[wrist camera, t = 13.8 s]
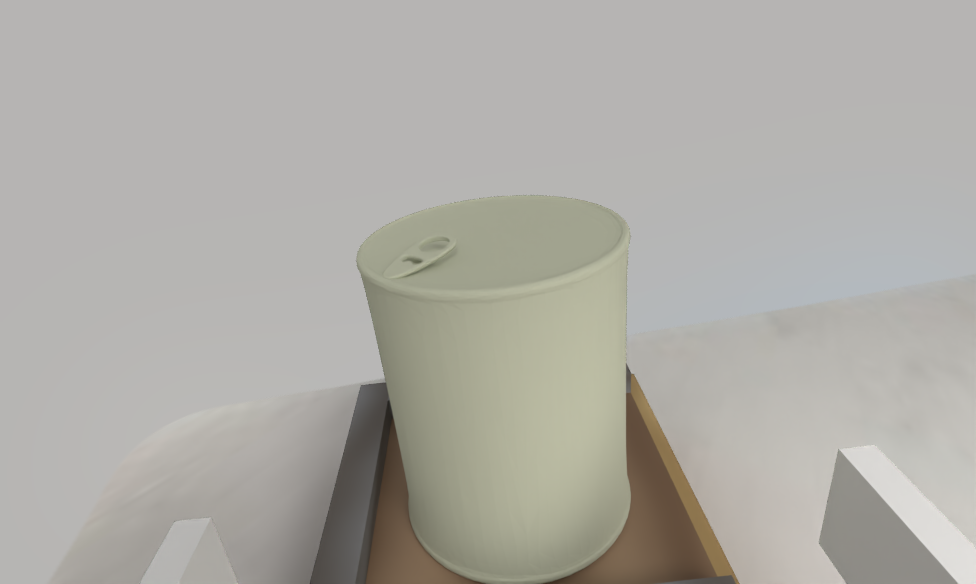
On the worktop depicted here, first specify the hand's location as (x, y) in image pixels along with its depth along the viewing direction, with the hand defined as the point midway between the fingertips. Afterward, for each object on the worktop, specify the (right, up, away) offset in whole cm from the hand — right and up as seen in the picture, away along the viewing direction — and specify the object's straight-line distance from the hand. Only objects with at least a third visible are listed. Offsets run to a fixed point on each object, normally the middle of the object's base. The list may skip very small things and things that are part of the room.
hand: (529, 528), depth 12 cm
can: (0, -4, +12) cm, 13 cm away
